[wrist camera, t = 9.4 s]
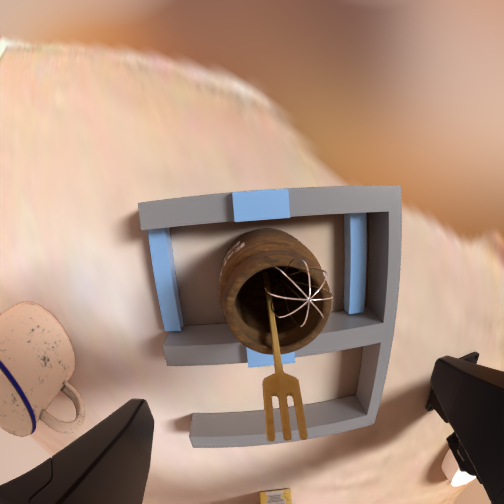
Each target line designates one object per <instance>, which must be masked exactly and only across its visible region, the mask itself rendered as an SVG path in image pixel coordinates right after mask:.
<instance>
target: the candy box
mask: <svg viewBox="0 0 504 504" xmlns="http://www.w3.org/2000/svg"><path fill="white" fill-rule="evenodd" d="M259 496H260V504H292V499H291V491H290V489H282V490H273V491H264V492H260V493H259Z"/></svg>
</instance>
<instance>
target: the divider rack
mask: <svg viewBox="0 0 504 504" xmlns="http://www.w3.org/2000/svg"><path fill="white" fill-rule="evenodd" d="M138 208H139V218H140V226H141V230H148V238H149V245H150V252H151V259H152V266H153V272H154V278H155V284H156V289H157V295H158V300H159V306H160V311H161V316H162V320H163V325H164V330H165V331H169V333H168V335H167V337H166V339H165V341H164V344H163V346H162V347H163V351H164V355H165V359H166V363H167V366H194V365H218V364H234V363H247V362H248V368H249V367H260V366H270V365H274V358H273V355H268V354H262V353H259V352H256V351H253V350H251V349H249V348H247V347H246V346H244V345H243V344H241V343H240V342H239V341H238V340H237V339H236V338H235V336H234V335H233V334H232V332H231V331H230V329H229V327H228V324H227V323H222V324H207V325H189V326H183V324H184V322H183V316H182V311H181V305H180V299H179V293H178V287H177V280H176V273H175V266H174V259H173V252H172V244H171V236H170V227H177V226H187V225H197V224H207V223H218V222H229V221H235V222H243V221H255V220H268V219H281V218H290V217H294V216H309V215H325V214H343V213H344V244H345V271H344V309H345V310H342V311H336V312H330V315H329V318H328V320H327V323H326V325H325V327H324V328H323V330H322V331H321V333H320V334H319V335H318V336H317V337H316V338H315V339H314V340H313V341H312V342H311V343H309V344H308V345H306V346H305V347H303V348H301V349H299V350H297V351H294V352H291V353H287V354H281V361H282V364H287V363H295V357H302V356H309V355H316V354H322V353H328V352H334V351H340V350H346V349H351V348H356V347H361V346H363V351H362V359H361V366H360V373H359V380H358V386H357V392H356V395H353V396H349V397H344V398H340V399H335V400H330V401H324V402H319V403H313V404H307V405H303V410H304V416H305V422H306V428H307V434H308V437H307V439H311V438H317V437H322V436H327V435H332V434H337V433H341V432H346V431H350V430H354V429H358V428H362V427H365V426H369V425H372V424H374V423H375V420H376V416H377V412H378V408H379V404H380V400H381V396H382V392H383V388H384V383H385V379H386V374H387V369H388V364H389V358H390V353H391V347H392V341H393V334H394V327H395V319H396V311H397V302H398V292H399V280H400V265H401V238H402V207H401V186H335V187H307V188H287V189H270V190H256V191H243V192H231V193H220V194H209V195H200V196H190V197H181V198H173V199H165V200H157V201H149V202H142V203H138ZM365 212H369V274H368V294H367V307H364V302H365V283H366V213H365ZM288 411H289V419H290V427H291V435H292V438H291V440H290V441H285V440H284V439H283V431H282V423H281V415H280V408H278V409H273V417H274V429H275V440H274V441H273V442H269V441H268V440H267V435H266V422H265V410H259V411H247V412H232V413H202V414H193V416H192V422H191V428H190V434H189V438H190V441H191V444H192V446H193V448H223V447H244V446H258V445H268V444H277V443H285V442H293V441H299V440H302V439H300V437H299V431H298V425H297V419H296V413H295V407H288Z"/></svg>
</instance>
